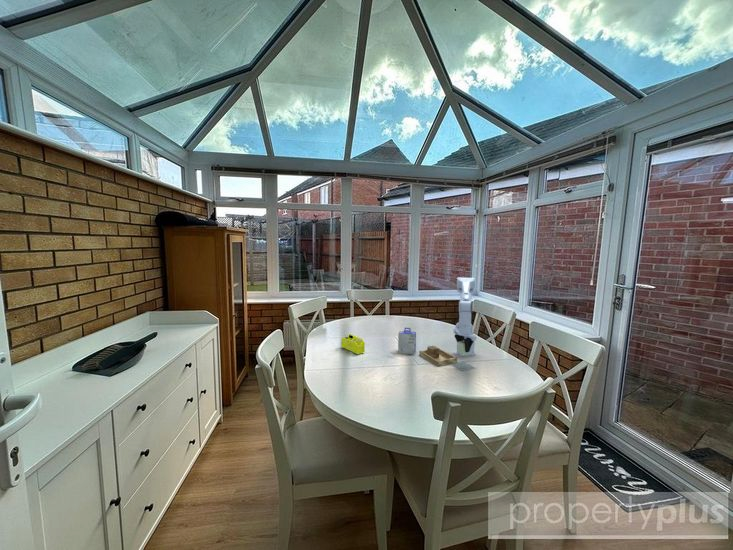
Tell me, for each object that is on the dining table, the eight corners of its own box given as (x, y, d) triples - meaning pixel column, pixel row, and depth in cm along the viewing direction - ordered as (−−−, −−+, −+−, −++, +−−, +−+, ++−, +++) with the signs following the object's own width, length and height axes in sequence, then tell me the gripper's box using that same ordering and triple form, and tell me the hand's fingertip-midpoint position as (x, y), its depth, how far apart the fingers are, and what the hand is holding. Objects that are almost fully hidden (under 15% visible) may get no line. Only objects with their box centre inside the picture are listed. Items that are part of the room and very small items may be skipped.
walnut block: (433, 353, 171) (434, 345, 170) (439, 357, 166) (439, 348, 165) (427, 355, 169) (427, 346, 168) (432, 358, 164) (432, 349, 164)
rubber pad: (464, 362, 160) (464, 361, 160) (476, 369, 152) (476, 368, 151) (450, 365, 156) (450, 364, 156) (462, 372, 148) (462, 371, 148)
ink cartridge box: (415, 351, 175) (416, 327, 174) (415, 355, 170) (415, 330, 168) (399, 350, 178) (399, 326, 176) (397, 353, 173) (398, 329, 171)
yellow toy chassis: (365, 353, 173) (365, 339, 172) (357, 355, 169) (357, 341, 169) (348, 346, 185) (348, 332, 184) (341, 348, 182) (340, 334, 181)
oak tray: (437, 352, 174) (437, 347, 174) (456, 363, 159) (457, 358, 158) (419, 356, 169) (419, 350, 169) (437, 367, 154) (437, 361, 153)
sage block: (457, 352, 154) (457, 341, 153) (463, 350, 156) (464, 340, 155) (462, 355, 150) (463, 344, 149) (470, 353, 152) (470, 343, 151)
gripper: (449, 321, 156) (448, 346, 158) (468, 329, 143) (467, 356, 145) (459, 320, 159) (459, 344, 161) (480, 327, 146) (478, 354, 147)
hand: (463, 350), depth 153 cm, fingers closed on sage block, 4 cm apart
